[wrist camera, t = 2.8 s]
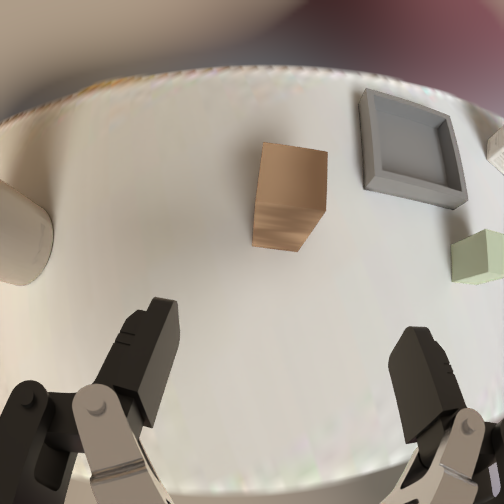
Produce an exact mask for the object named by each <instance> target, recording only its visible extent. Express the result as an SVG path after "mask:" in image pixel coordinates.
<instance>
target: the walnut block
mask: <svg viewBox="0 0 504 504" xmlns="http://www.w3.org/2000/svg"><path fill="white" fill-rule="evenodd" d="M327 158H328V152H325V151H319V150H314V149H307V148H301V147H295V146H288V145H281V144H273V143H265V142H263V148H262V156H261V163H260V170H259V178H258V185H257V192H256V200H255V213H254V227H253V241H252V246H255V247H263V248H270V249H278V250H286V251H294V252H298V251H299V249H300V248H301V246H302V245H303V243H304V242H305V241H306V239H307V238H308V236H309V235H310V233H311V232H312V230H313V229H314V228H315V226H316V225H317V223H318V222H319V220H320V219H321V217H322V216H323V214H324V213H325V212H326V197H327Z"/></svg>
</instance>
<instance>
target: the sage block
mask: <svg viewBox="0 0 504 504" xmlns="http://www.w3.org/2000/svg"><path fill="white" fill-rule="evenodd" d="M451 262H452V282H455V283H463V284H472V285H478V284H482V283H486V282H490V281H494V280H498V279H502V278H504V234H502V233H498V232H495V231H491V230H487V229H484V230H482V231H480V232H478V233H476V234H474V235H472V236H470V237H467V238H465V239H463V240H461V241H459V242H457V243H454V244H452V245H451Z"/></svg>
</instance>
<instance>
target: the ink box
mask: <svg viewBox="0 0 504 504" xmlns="http://www.w3.org/2000/svg"><path fill="white" fill-rule="evenodd" d="M487 160H488V161H489V162H490V163H491V164H492V165H493V166H494V167H495V168H497V169H498V170H499V171H500V172H501V173H502V174H503V175H504V125H503V126H502V127H501V128H500V129H499V130H498V131H497V132H496V133H495V134H494V135H493V136H492V137H490V138H489V139H488V142H487Z"/></svg>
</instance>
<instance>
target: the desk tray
mask: <svg viewBox="0 0 504 504" xmlns="http://www.w3.org/2000/svg"><path fill="white" fill-rule="evenodd" d="M358 105H359V115H360V127H361V140H362V156H363V178H364V190H369V191H374V192H379V193H383V194H388V195H393V196H397V197H402V198H406V199H411V200H415V201H419V202H423V203H427V204H432V205H436V206H440V207H443V208H447V209H451V210H454V209H456V208H457V207H459V206H460V205H462V204H464V203H465V202H467V201H468V195H467V189H466V183H465V177H464V172H463V167H462V162H461V158H460V153H459V149H458V145H457V141H456V137H455V133H454V129H453V126H452V122H451V119H450V116H449V115H446V114H444V113H441V112H439V111H436V110H433V109H431V108H428V107H425V106H423V105H420V104H417V103H414V102H411V101H408V100H405V99H402V98H399V97H395V96H392V95H389V94H385V93H382V92H378V91H375V90H371V89H367V88H366V89H365V91H364V93H363V96H362V98H361V100H360V102H359V104H358Z"/></svg>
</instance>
